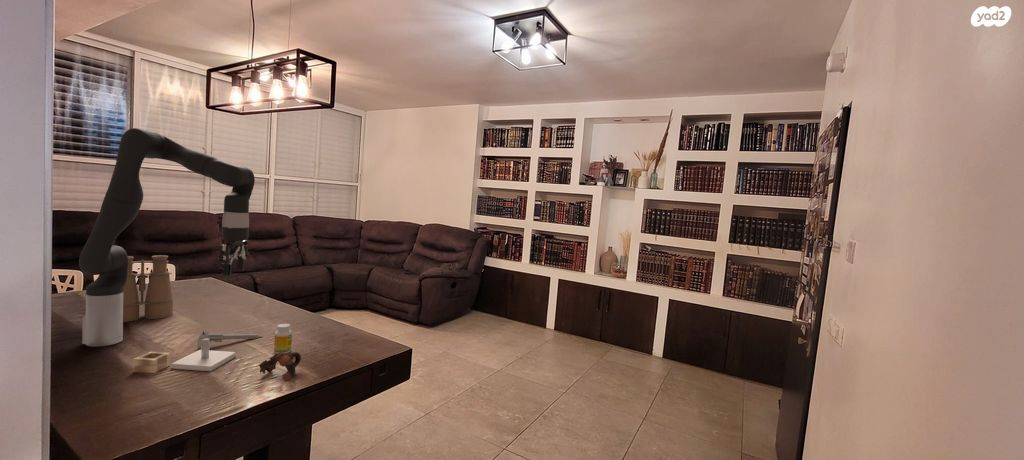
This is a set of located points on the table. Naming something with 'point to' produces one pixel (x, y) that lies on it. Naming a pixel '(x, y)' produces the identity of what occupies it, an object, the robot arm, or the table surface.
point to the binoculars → (148, 291)
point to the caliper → (224, 337)
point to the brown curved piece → (282, 364)
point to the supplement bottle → (283, 339)
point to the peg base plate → (204, 359)
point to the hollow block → (151, 362)
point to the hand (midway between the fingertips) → (233, 273)
